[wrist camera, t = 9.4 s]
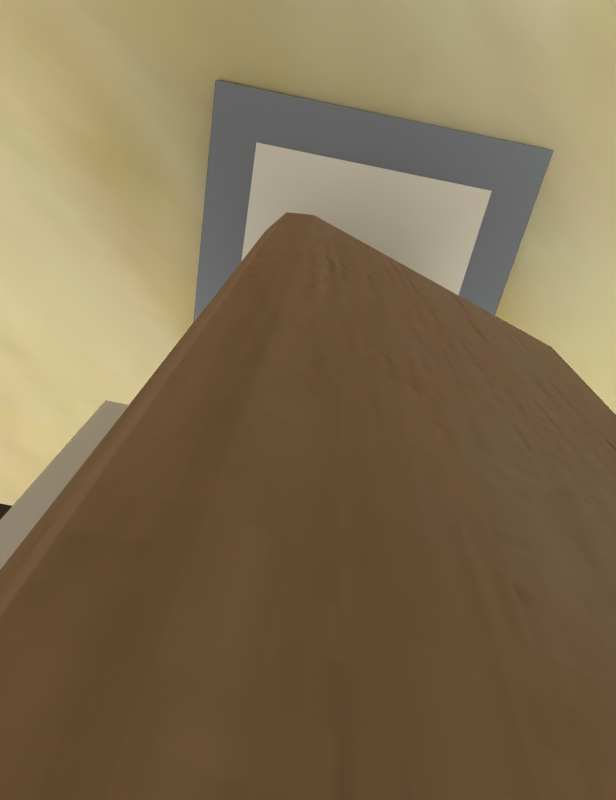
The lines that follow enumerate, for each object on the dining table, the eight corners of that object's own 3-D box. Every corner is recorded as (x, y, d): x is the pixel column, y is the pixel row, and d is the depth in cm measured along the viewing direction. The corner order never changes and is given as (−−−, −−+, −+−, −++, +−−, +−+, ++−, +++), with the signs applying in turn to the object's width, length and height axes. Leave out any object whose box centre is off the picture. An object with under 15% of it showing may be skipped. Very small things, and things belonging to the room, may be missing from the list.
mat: (218, 80, 29) (215, 79, 28) (549, 150, 29) (554, 150, 28) (189, 384, 37) (187, 388, 36) (449, 434, 37) (450, 439, 37)
